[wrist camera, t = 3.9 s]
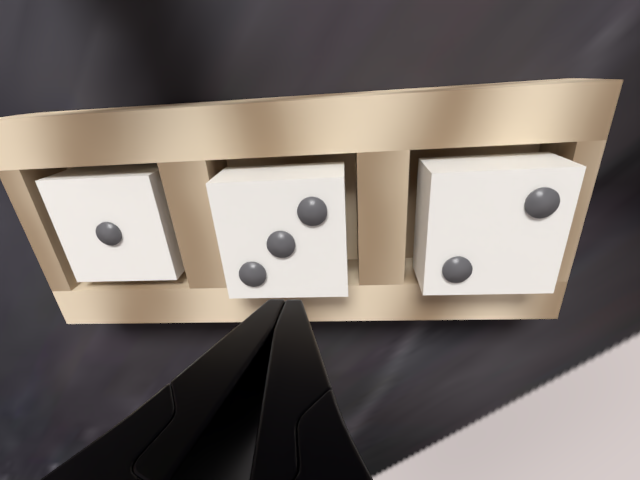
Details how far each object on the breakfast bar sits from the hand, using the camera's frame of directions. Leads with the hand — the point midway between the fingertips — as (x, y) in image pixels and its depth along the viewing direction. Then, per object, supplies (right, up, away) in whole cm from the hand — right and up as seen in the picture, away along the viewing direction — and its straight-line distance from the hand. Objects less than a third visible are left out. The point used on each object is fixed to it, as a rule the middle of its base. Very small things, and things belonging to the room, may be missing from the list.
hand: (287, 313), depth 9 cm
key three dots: (-1, +3, +7) cm, 7 cm away
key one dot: (-8, +3, +9) cm, 13 cm away
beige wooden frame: (0, +4, +9) cm, 9 cm away
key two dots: (+7, +3, +6) cm, 10 cm away
